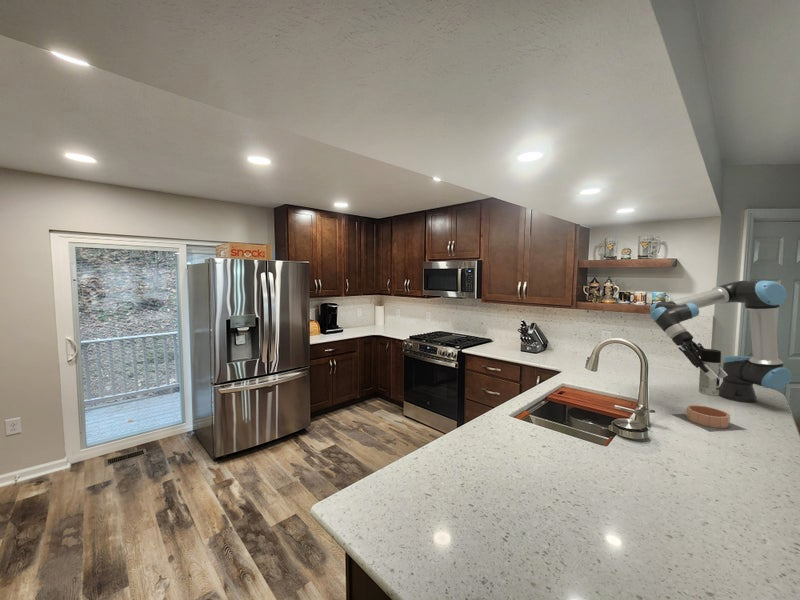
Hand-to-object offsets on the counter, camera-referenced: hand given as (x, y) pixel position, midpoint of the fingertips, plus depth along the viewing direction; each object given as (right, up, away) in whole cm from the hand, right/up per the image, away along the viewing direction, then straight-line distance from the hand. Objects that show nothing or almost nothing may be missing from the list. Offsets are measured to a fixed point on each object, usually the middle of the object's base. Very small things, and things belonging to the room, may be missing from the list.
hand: (719, 377), depth 145 cm
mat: (-1, -22, +5) cm, 22 cm away
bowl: (-1, -21, +5) cm, 22 cm away
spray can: (-1, -8, +4) cm, 9 cm away
